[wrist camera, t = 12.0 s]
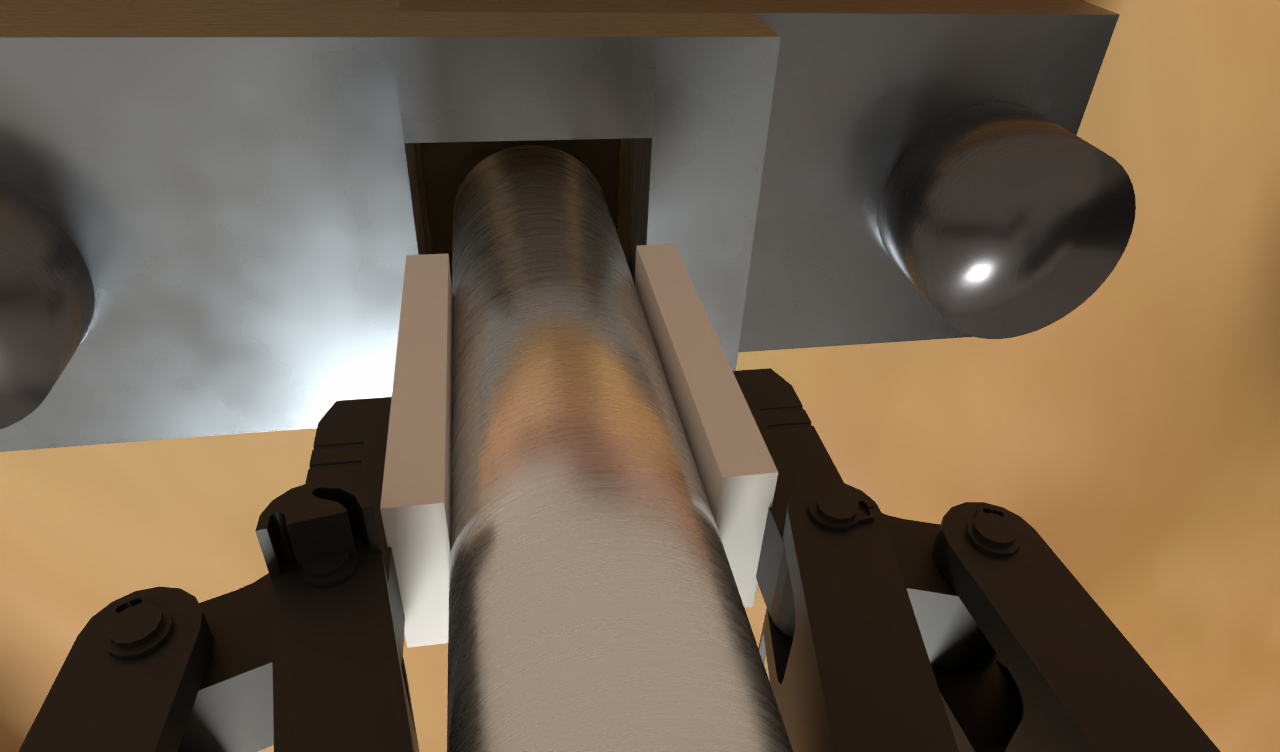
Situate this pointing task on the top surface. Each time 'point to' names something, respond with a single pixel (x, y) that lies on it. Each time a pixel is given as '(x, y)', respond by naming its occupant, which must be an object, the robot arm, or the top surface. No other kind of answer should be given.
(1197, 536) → the top surface
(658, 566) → the steel pin
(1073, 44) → the plate with dome knobs
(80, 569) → the top surface
